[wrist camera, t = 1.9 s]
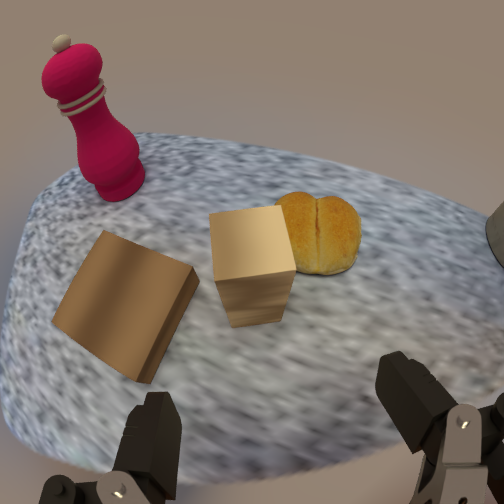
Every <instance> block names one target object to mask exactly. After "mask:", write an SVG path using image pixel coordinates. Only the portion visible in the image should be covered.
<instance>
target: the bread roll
mask: <svg viewBox="0 0 504 504" xmlns="http://www.w3.org/2000/svg"><path fill="white" fill-rule="evenodd" d="M276 205H281V208H282V212H283V216H284V220H285V224H286V228H287V232H288V236H289V240H290V244H291V248H292V252H293V256H294V261H295V265H296V269H297V270H296V271H299V272H302V273H307V274H309V273H310V274H316V273H318V274H323V275H332V274H337V273H340V272H342V271H345V270H347V269H349V268H350V267H351V266H352V265H353V263H354V262H355V260H356V258H357V251H358V249H359V245H360V242H361V236H362V235H361V218H360V216H358V214H357V212H356V210H355V209H354V208H353V207H352V206H351V205H350V204H349V203H347V202H346V201H344V200H343V199H341V198H339V197H335V196H329V197H323V198H319V199H315V198H314V197H313V196H311V195H310V194H308V193H305V192H293V193H289V194H287V195H285V196H283V197H281V198H280V199H279V200H278V201H277V202H276V203H275V205H274V206H276Z"/></svg>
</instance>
